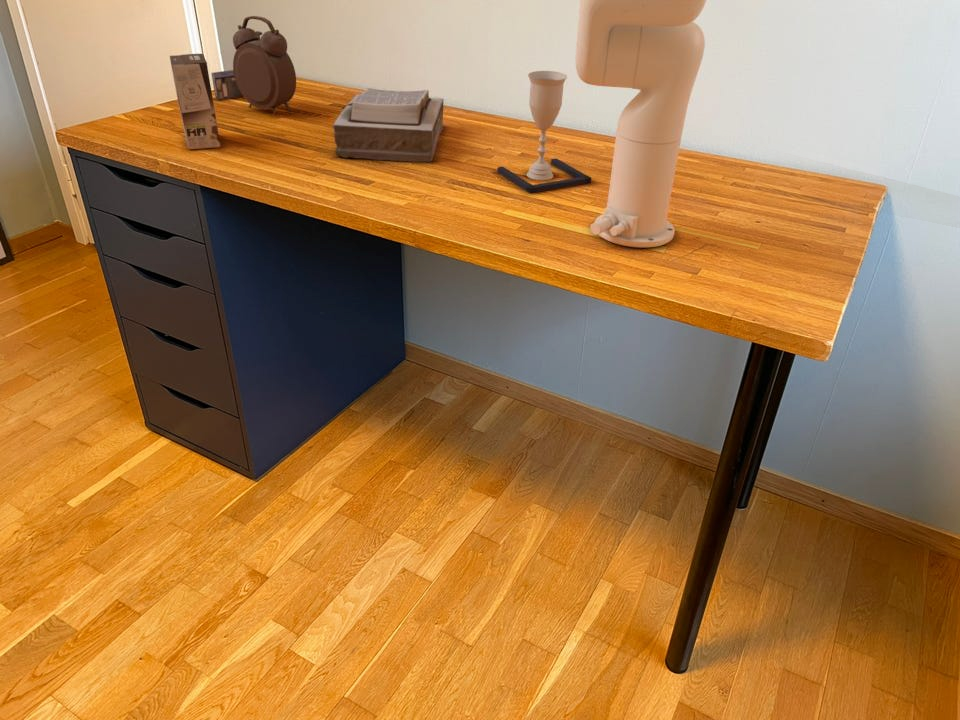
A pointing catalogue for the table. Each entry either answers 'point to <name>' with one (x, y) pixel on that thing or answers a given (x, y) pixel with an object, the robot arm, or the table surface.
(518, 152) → the table surface
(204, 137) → the coffee box
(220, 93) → the mini dv tape
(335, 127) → the bible
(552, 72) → the chalice
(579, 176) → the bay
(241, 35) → the alarm clock
